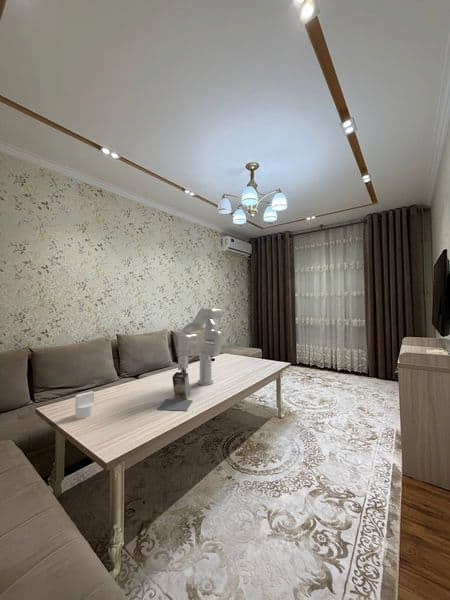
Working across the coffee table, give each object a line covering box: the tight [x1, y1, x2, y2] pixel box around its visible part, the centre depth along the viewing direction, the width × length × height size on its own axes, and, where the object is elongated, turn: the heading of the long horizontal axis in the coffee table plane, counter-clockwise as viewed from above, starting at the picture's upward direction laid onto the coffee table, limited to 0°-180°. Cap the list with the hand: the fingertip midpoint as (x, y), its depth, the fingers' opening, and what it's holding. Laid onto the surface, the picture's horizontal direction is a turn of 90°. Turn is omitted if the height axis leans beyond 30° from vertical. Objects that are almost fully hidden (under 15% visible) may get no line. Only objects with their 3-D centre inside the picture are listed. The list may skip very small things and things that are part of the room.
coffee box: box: [172, 371, 191, 400], centre depth 164 cm, size 9×6×16 cm
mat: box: [156, 398, 193, 412], centre depth 154 cm, size 16×18×1 cm
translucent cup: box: [74, 390, 95, 419], centre depth 139 cm, size 9×9×12 cm
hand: (183, 379), depth 169 cm, fingers closed
